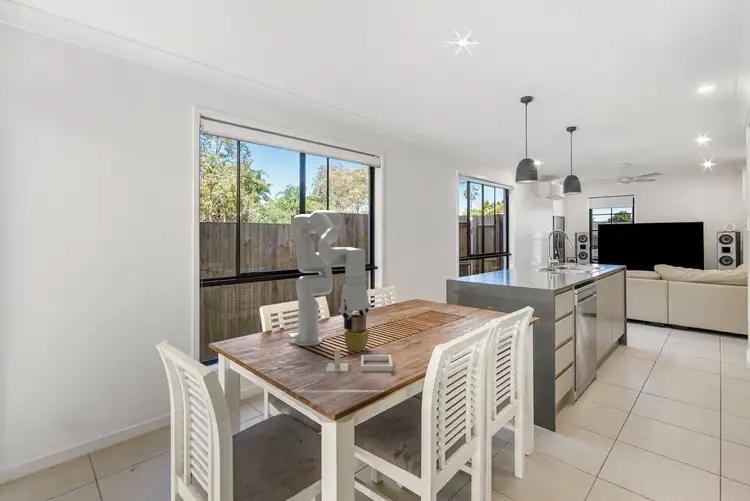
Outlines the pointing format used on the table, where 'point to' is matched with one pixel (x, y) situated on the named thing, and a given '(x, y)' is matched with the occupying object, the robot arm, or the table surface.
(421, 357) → the table surface
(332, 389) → the table surface
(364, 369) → the light grey square frame
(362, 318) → the napkin ring
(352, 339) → the flower pot
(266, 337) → the table surface
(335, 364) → the peg stand
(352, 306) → the robot arm
